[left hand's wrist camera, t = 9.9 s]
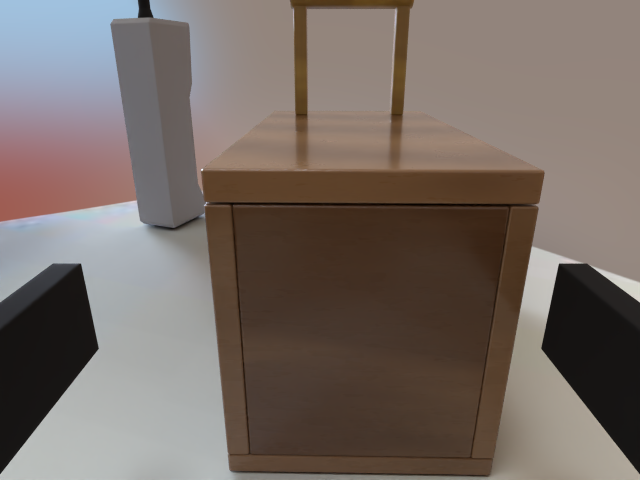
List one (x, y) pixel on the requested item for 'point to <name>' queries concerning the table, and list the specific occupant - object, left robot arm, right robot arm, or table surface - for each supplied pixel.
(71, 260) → the table surface
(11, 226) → the table surface
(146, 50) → the vintage mobile phone
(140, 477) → the table surface
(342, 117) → the lid
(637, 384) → the left robot arm
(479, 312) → the chest
